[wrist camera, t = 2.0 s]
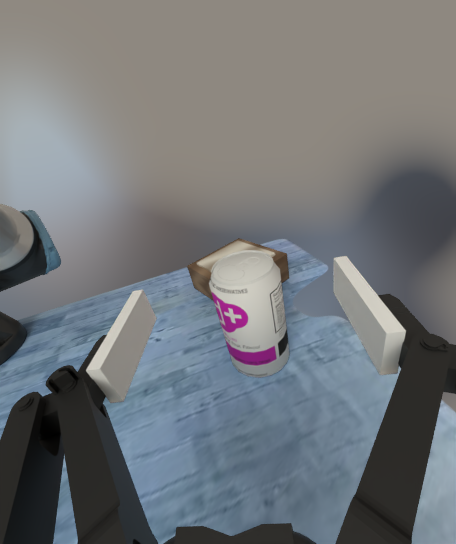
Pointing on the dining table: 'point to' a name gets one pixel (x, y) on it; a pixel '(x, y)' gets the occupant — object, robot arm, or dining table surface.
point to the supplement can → (251, 311)
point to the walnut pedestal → (203, 266)
